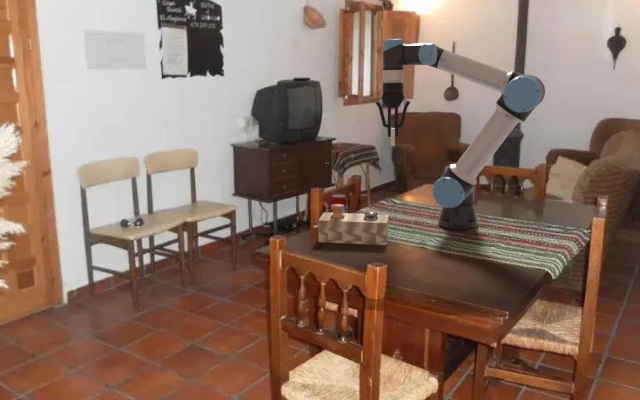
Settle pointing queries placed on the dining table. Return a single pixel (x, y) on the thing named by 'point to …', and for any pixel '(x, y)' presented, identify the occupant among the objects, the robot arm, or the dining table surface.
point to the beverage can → (339, 201)
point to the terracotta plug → (337, 211)
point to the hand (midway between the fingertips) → (392, 145)
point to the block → (353, 229)
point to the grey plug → (370, 215)
